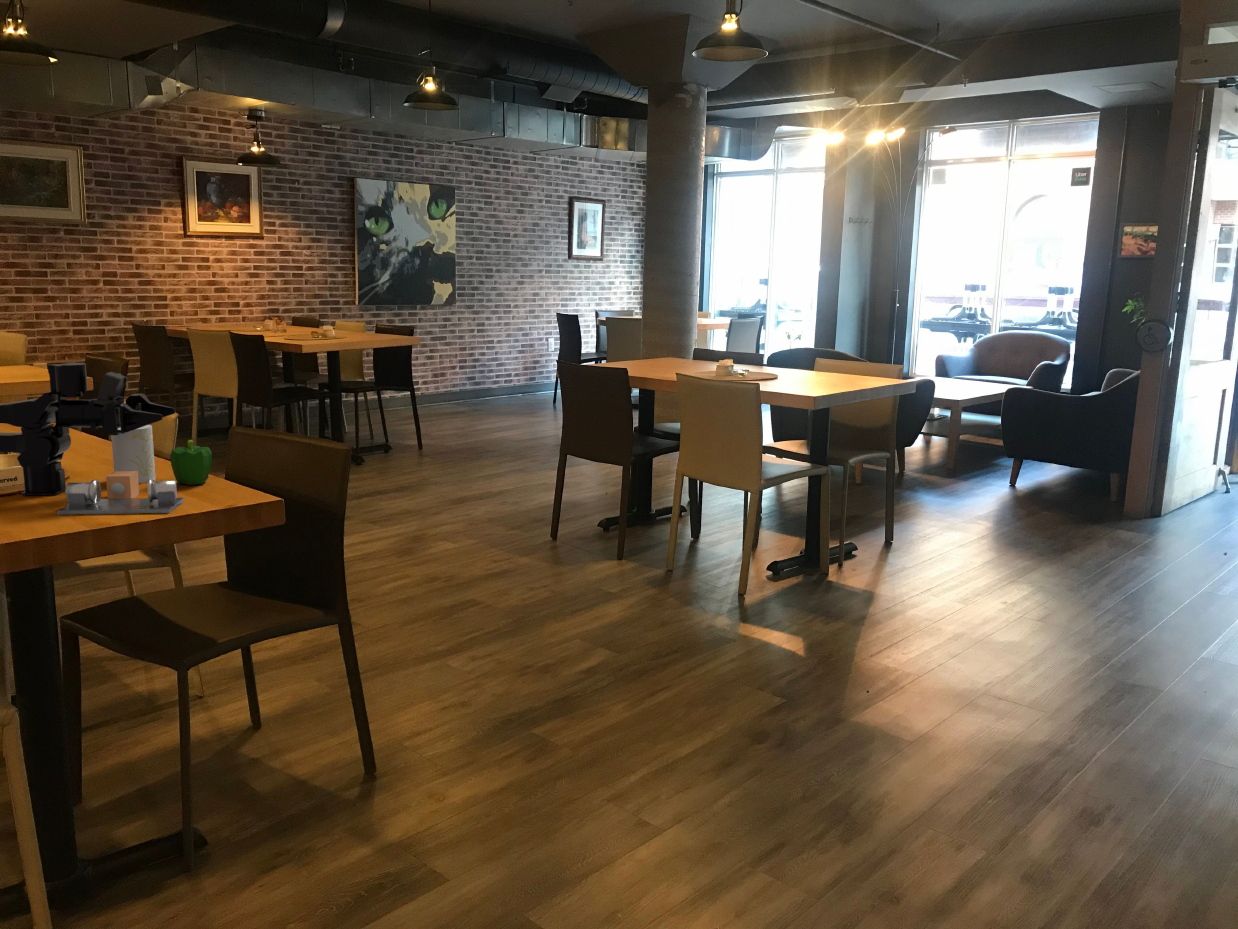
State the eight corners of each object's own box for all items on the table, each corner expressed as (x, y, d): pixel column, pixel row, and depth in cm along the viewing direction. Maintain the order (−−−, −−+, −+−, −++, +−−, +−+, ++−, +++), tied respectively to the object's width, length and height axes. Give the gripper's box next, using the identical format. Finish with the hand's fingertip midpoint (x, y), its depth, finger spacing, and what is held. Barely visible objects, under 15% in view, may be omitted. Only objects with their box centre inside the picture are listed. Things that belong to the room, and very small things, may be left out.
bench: (57, 514, 184) (55, 485, 183) (77, 502, 193) (75, 474, 192) (169, 513, 187) (167, 484, 186) (183, 501, 197) (182, 474, 196)
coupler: (129, 501, 196) (128, 477, 195) (106, 501, 196) (104, 477, 195) (140, 493, 203) (139, 470, 202) (118, 493, 202) (116, 470, 202)
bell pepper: (179, 479, 217) (176, 435, 215) (217, 479, 218) (214, 435, 216) (165, 487, 209) (162, 441, 207) (205, 487, 210) (202, 442, 208)
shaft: (148, 506, 189) (146, 481, 188) (150, 501, 193) (148, 477, 192) (176, 504, 191) (174, 480, 190) (177, 499, 195) (176, 475, 194)
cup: (139, 485, 211) (135, 430, 208) (106, 482, 212) (102, 428, 210) (163, 477, 219) (160, 425, 216) (131, 475, 220) (127, 423, 218)
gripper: (67, 379, 189) (152, 380, 192) (102, 369, 207) (179, 370, 210) (72, 435, 192) (156, 435, 194) (105, 421, 210) (182, 421, 212)
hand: (168, 413), depth 202 cm, fingers open, 9 cm apart
